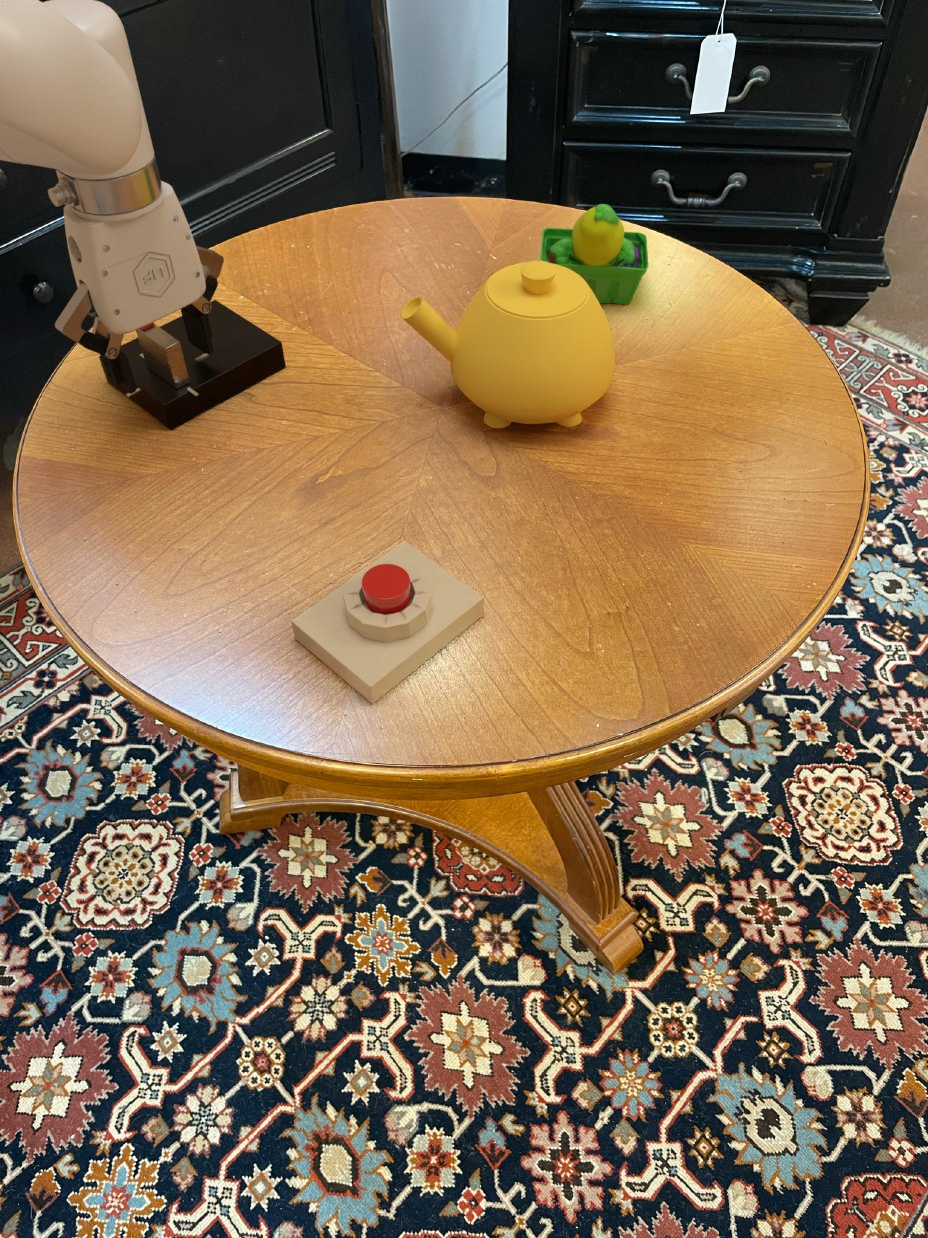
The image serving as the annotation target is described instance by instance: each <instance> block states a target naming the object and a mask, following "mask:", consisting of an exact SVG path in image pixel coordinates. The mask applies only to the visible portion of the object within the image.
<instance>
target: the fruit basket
mask: <svg viewBox="0 0 928 1238" xmlns="http://www.w3.org/2000/svg"><path fill="white" fill-rule="evenodd" d="M540 244H541V245H540V246H541V247H540V256H539V261H546V262H549V263H553V264H557V265H560V266H563V267H566V268H568V269H570V270H572V271H574V272H575V273H577V274H578V275H580V276H581V277H582V278H583V279H584V280H585V281H586V283H587V284H588V285H589V287H590V288H591V289H592V291H593V293H594V295H595V296H596V298H597V300H598V302H599V303H600V304H611V303H613V304H615V305H630V304H631V303H632V300H633V298H634V296H635V294H636V291H637V290H638V288H639V285H640V283H641V281H642V278H643V276H644V275H645V274H646V273H647V271H648V269H649V253H648V238H647V235H646V234H644V233H642V232H637V231H625V229H624V225H623V223H622V221H621V219H620V217H619V216H617V213H616V211H615V210H614V209H613V207H611V206H610V205H609V204H605V203H600V204H597V205H596V206H593V207H591V208H589V209H587V211H585V212H583V213H582V214H581V215H580V216H579V217H578V218H577V220H576V221H575V223H574V225H573V228H560V227H546V228H544V229H542V231H541V243H540Z"/></svg>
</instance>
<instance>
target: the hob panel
mask: <svg viewBox="0 0 928 1238" xmlns="http://www.w3.org/2000/svg"><path fill="white" fill-rule="evenodd" d="M210 303H211V305H212V308H211V311H210V312H209V313H208V318H209V323H210V327H211V331H212V338H211V342H212V346H213V352H212V353H210V354H205V353H204V352H202V351H201V350H199V349H198V348H196V347H195V346H193V345H192V344H191V343H190V342H189V341H188V337H187V333H186V329H185V325H184V321H183V317H182V315H181V316H178V317H177V318H174V319H173V320H171V321H168V322H167V323H164V324H162V325H161V326H159V327H160V328H161V329H162V330H164V331H165V332H167V333H168V334H170V335H171V336H172V337H174V338H175V339H177V340H178V341H179V342H180V345H181V349H182V353H183V357H184V360H185V364H186V368H187V372H188V375H189V379H190V383H188V384H186V385H184V386H182V387H180V388H178V389H175V388H174V387H173V386H171V385H170V384H169V383H167V382H166V381H165V380H163V379H162V378H161V377H159V376H158V375H157V374H155V373H154V372H153V371H151V370H150V369H149V368H147V366H146V362H145V359H144V356H143V353H142V349H141V346H140V343H139V339H138V337H136V338H134V339H131V340H130V341H127V342H126V343H123V344H121V347H120V351H122V352H123V353H124V354H126V356H127V358H128V361H129V364H130V367H131V370H132V374H133V377H134V380H135V383H136V387H137V389H136V392H134V393H132V394H130V393H129V392H127V391H126V390H125V389H123V388H122V387H121V386H119V385H114V384H113V383H112V382H111V381H110V380H109V378H108V376H107V374H106V371H105V368H104V365H103V362H102V359H101V356H100V355H99V356H98V359H99V362H100V364H101V365H100V366H101V367H102V370H103V373H104V376H105V379H106V382H107V383H108V384H110V385H111V386H112V387H113V388H115V389H116V390H118V391H119V392H120V393H121V394H122V395H124V396H125V397H127V398H128V399H129V400H131V401H132V402H133V403H134V404H136V405H137V406H138V407H140V408H141V409H142V410H144V411H145V412H146V413H147V414H149V415H150V416H152V417H153V418H154V419H155V420H157V421H158V422H159V423H161V424H162V425H163V426H165V427H166V428H167V429H169V430H170V431H173V430H175V429H176V428H178V427H180V426H182V425H184V424H185V423H187V422H189V421H191V420H193V419H194V418H196V417H198V416H200V415H202V414H204V413H206V412H208V411H210V410H211V409H213V408H214V407H216V406H218V405H220V404H222V403H223V402H226V401H227V400H229V399H231V398H233V397H234V396H236V395H238V394H240V393H241V392H244V391H245V390H248V389H249V388H251V387H252V386H254V385H256V384H258V383H259V382H261V381H263V380H265V379H267V378H269V377H270V376H272V375H274V374H276V373H278V372H280V371H282V370H284V369H285V368H286V367H287V365H286V360H285V355H284V353H285V352H284V347H283V342H282V341H281V340H280V339H278V338H276V337H274V336H273V335H271V334H270V333H268V332H267V331H266V330H263V329H262V328H261V327H260V326H258V325H256V324H254V323H253V322H251V321H250V320H248V319H246V318H245V317H243V316H242V315H240V314H238V313H237V312H235V311H234V310H232V309H231V308H229V307H228V306H226V305H225V304H223V303H221V302H219V300H216V299H213V300H211V301H210Z"/></svg>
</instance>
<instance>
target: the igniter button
mask: <svg viewBox="0 0 928 1238" xmlns="http://www.w3.org/2000/svg"><path fill="white" fill-rule="evenodd" d="M362 590H363V598H364V602H365V604H366V606H367V607H368V608H369V609H370V610H372V611H373V612H376V613H379V614H393V613H397V612H399V611H401V610H403V609H404V608H405V607H406V606H407V605H408V604H409V602H410V599H411V587H410V577H409V575H408V573H407V572H406V571H405V570H404V569H403V568H401V567H400V566H397V565H394V564H381V565H377V566H374V567H372V568H371V569H369V570H368V571H367V572H366V573H365V575H364V576H363V579H362Z"/></svg>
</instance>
